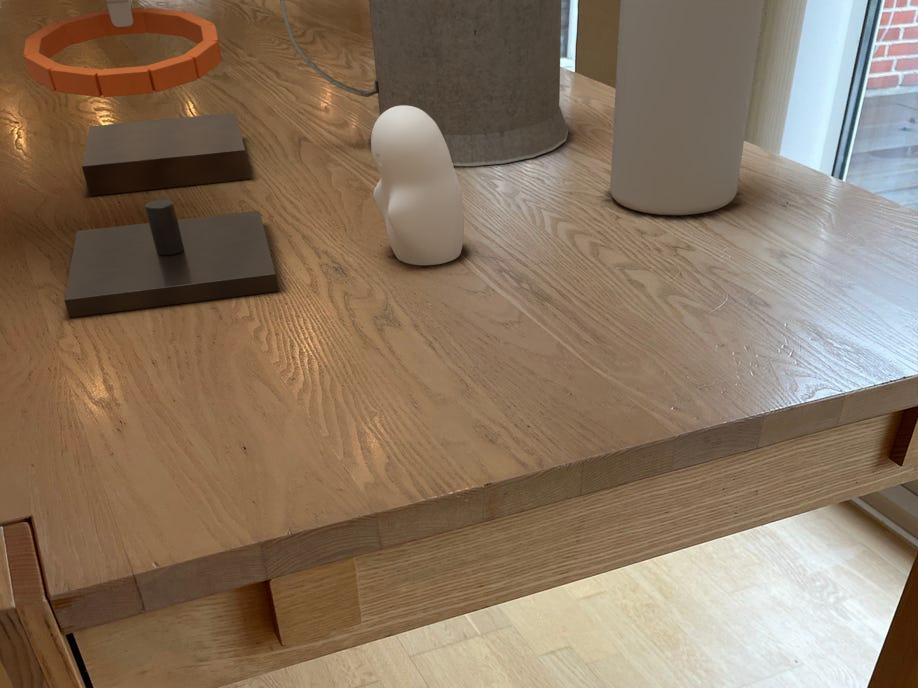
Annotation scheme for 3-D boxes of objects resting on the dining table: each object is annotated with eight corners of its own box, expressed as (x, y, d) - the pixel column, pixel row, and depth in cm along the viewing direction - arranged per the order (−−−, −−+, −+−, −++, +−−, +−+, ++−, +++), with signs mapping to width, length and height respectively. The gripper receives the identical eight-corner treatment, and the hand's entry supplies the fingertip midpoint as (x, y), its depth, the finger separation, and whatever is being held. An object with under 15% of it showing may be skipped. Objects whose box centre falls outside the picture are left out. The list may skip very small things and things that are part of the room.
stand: (90, 196, 101) (81, 166, 99) (97, 153, 114) (89, 126, 112) (250, 179, 104) (245, 149, 102) (240, 139, 117) (235, 112, 115)
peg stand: (69, 317, 77) (47, 249, 74) (81, 247, 90) (62, 185, 86) (278, 291, 80) (266, 224, 77) (262, 226, 93) (251, 165, 89)
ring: (26, 104, 73) (18, 81, 71) (36, 36, 82) (29, 15, 81) (227, 87, 75) (223, 64, 74) (214, 23, 85) (210, 2, 83)
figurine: (373, 246, 88) (358, 100, 80) (452, 235, 89) (445, 90, 81) (392, 273, 82) (378, 120, 74) (475, 261, 84) (470, 109, 76)
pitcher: (589, 155, 107) (601, -130, 90) (306, 182, 103) (263, -110, 86) (543, 104, 124) (545, -145, 107) (298, 125, 120) (261, -129, 103)
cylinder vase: (706, 173, 101) (742, -129, 84) (756, 210, 92) (808, -121, 75) (593, 185, 99) (607, -122, 82) (633, 223, 90) (658, -112, 73)
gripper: (44, -188, 80) (93, 6, 90) (16, -186, 65) (79, 47, 75) (121, -191, 81) (161, 1, 91) (111, -190, 66) (161, 41, 76)
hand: (124, 22), depth 82 cm, fingers closed on ring, 1 cm apart
